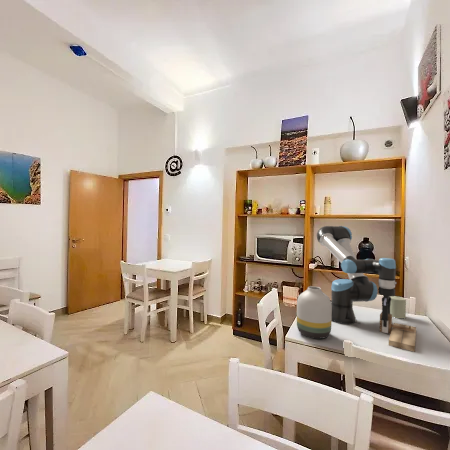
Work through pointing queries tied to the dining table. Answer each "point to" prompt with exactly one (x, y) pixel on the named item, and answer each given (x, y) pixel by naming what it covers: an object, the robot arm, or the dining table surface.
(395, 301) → the can
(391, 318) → the brown wooden block
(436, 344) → the dining table surface
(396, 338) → the board
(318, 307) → the vase
